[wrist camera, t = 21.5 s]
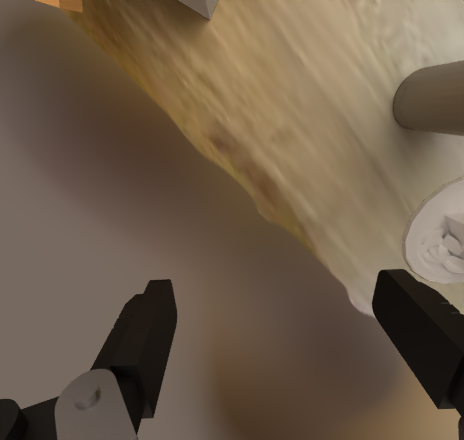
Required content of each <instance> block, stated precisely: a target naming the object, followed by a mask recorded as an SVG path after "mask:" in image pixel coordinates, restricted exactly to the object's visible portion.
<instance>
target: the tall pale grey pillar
mask: <svg viewBox="0 0 464 440" xmlns="http://www.w3.org/2000/svg"><path fill="white" fill-rule="evenodd" d="M178 1H180V2H181V3H183V4H185V5H186V6H188V7H190V8H191V9H193V10H194V11H196V12H198V13H199V14H201V15H203V16H204V17H206V18H207V19H209V20H211V17H212V15H213V12H214V9H215V7H216V4H217V2H218V0H178Z"/></svg>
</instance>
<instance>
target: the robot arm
mask: <svg viewBox="0 0 464 440" xmlns="http://www.w3.org/2000/svg"><path fill="white" fill-rule="evenodd" d="M393 109H394V115H395V118H396V120H397V121H398V123H399V124H401V125H402V126H403V127H405V128H408V129H414V130H421V131H428V132H436V133H443V134H451V135H459V136H464V60H463V61H457V62H452V63H447V64H442V65H436V66H431V67H427V68H423V69H420V70H418V71H416V72H414V73H413V74H411V75H410V76H409V77H408V78H407V79H406V80H405V81H404V82H403V83H402V84H401V86H400V87H399V89H398V91H397V93H396V96H395V99H394V106H393ZM372 308H373V312H374V315H375V317H376V319H377V320H378V322H379V323H380V325H381V326H382V328H383V329H384V331H385V332H386V333H387V335H388V336H389V338H390V339H391V341H392V342H393V344H394V345H395V347H396V348H397V350H398V351H399V353H400V354H401V356H402V357H403V358H404V360H405V361H406V363H407V364H408V366H409V367H410V369H411V370H412V371H413V373H414V374H415V376H416V377H417V379H418V380H419V382H420V383H421V385H422V386H423V388H424V389H425V391H426V392H427V394H428V395H429V396H430V398H431V399H432V401H433V402H434V404H435V405H436V407H437V408H438V409H455V408H456V410H457V411H458V412H459V414H460V415H461V417H460V419H459V423H458V429H459V440H464V315H463V314H460V311H459V310H458V309H456V308H455V307H454V306H453V305H452V304H451V305H450V303H449V301H448V300H446V299H445V298H444V297H443V296H442V295H441V294H440V293H439V292H438V291H436V290H434V289H432V288H431V287H429V286H427V285H425V284H424V283H422V282H418V281H417V280H416V279H415V278H414V277H413V276H412V275H411V274H409V273H408V272H407V271H406V270H404V269H391V270H381V271H380V272H379V274H378V277H377V282H376V286H375V291H374V296H373V300H372ZM176 324H177V308H176V303H175V298H174V293H173V287H172V283H171V280H170V279H166V280H150V281H149V283H148V285H147V287H146V290H145V291H144V293H143V294H136V295H135V296H134V297H133V298H132V299H130V300H129V301H128V302H127V303H126V304H125V306H124V308H123V310H122V311H121V313H120V315H119V318H118V319H117V321H116V323H115V325H114V328H113V329H112V330H111V332H110V334H109V336H108V338H107V340H106V342H105V343H104V345H103V347H102V349H101V351H100V353H99V355H98V356H97V358H96V360H95V362H94V364H93V366H92V368H91V369H90V371H88V372H86V373H84V374H82V375H80V376H79V377H77V378H76V379H74V380H73V381H72V382H71V383H70V384H69V385H68V386H67V387H66V388H65V389H64V390H63V392H62V393H61V395H60V396H58V397H56V398H53V399H50V400H47V401H44V402H41V403H38V404H35V405H33V406H30V407H27V408H24V409H20V407H19V406H18V404H17V403H16V402H15V401H14V400H11V399H0V440H138V437H137V432H138V429H139V426H140V422H141V419H143V418H153V417H154V413H155V409H156V405H157V401H158V397H159V393H160V389H161V385H162V381H163V377H164V373H165V369H166V365H167V361H168V357H169V353H170V349H171V345H172V341H173V337H174V333H175V329H176Z"/></svg>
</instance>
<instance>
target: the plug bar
mask: <svg viewBox="0 0 464 440" xmlns="http://www.w3.org/2000/svg"><path fill="white" fill-rule="evenodd" d="M35 1H39V2H42V3H45V4H49V5H52V6H55V7H59V8H63V9H67V10H72V11H76V12H80V13H83V8H82V0H35Z"/></svg>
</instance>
